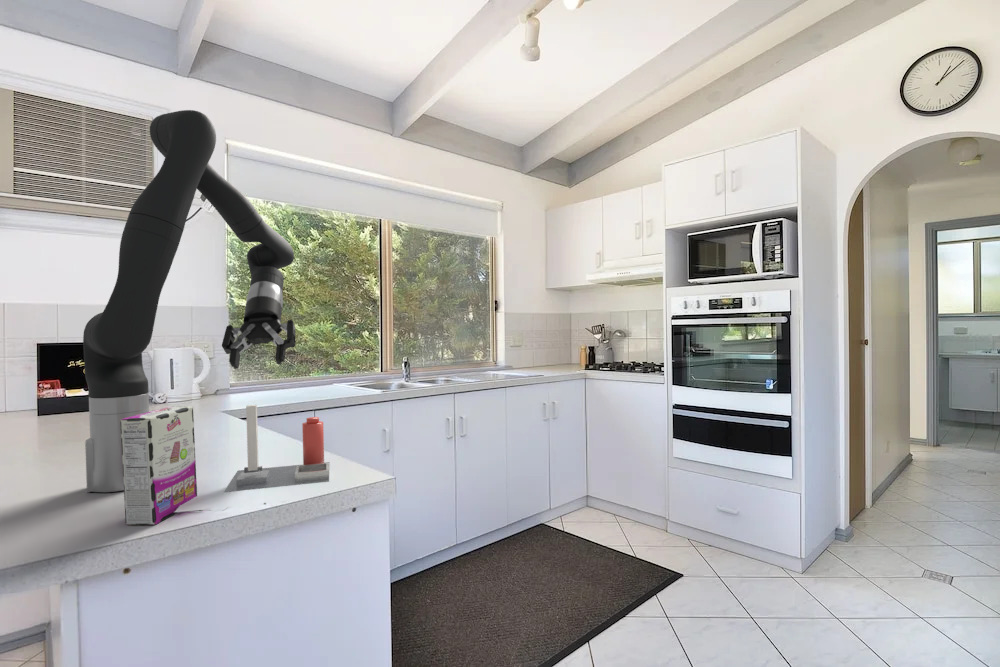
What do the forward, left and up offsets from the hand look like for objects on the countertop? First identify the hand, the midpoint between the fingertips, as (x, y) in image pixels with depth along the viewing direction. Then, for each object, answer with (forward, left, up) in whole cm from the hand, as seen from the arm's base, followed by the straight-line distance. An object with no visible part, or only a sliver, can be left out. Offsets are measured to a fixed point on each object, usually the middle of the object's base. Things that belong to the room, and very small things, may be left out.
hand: (256, 364), depth 110 cm
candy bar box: (-12, -23, -22) cm, 34 cm away
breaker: (0, -12, -19) cm, 22 cm away
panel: (+5, -10, -22) cm, 25 cm away
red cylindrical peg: (+11, -6, -21) cm, 24 cm away
